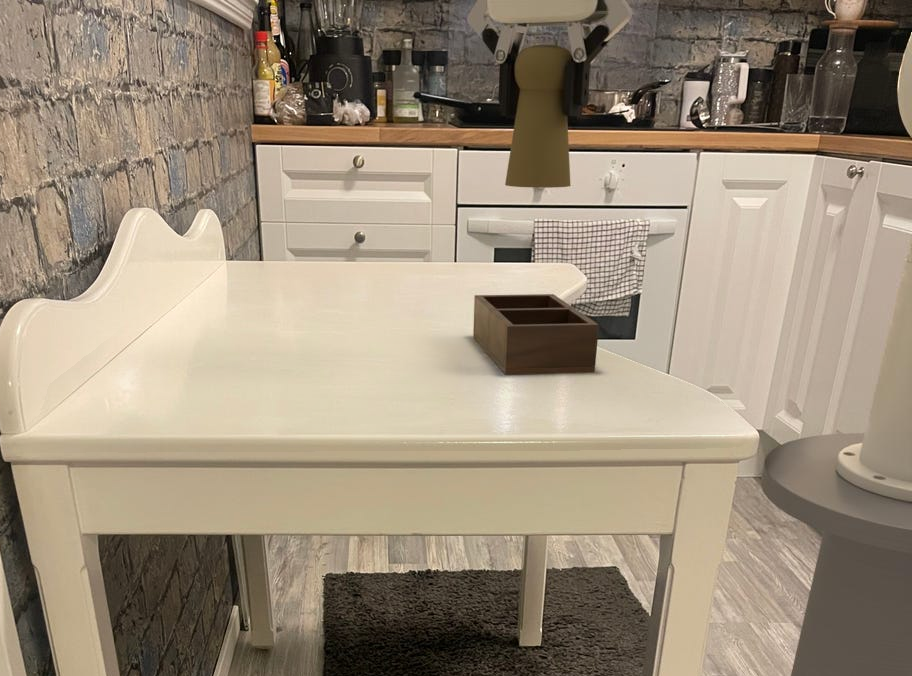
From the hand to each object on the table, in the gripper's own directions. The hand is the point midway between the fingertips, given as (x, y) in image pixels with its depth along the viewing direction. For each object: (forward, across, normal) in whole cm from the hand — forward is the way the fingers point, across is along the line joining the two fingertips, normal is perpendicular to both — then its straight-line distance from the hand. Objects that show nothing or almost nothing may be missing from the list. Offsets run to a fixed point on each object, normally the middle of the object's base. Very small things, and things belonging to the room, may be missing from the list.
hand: (541, 113), depth 85 cm
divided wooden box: (+22, +2, -6) cm, 23 cm away
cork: (+6, 0, 0) cm, 6 cm away
